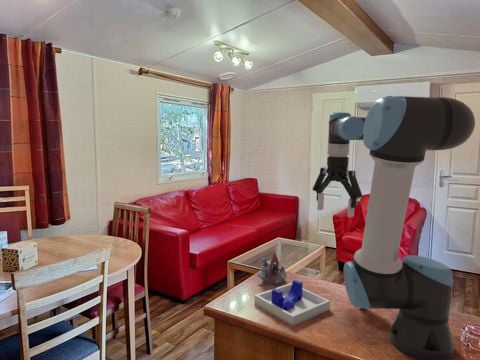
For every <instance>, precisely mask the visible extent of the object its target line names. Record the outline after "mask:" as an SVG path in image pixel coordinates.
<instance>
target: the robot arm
mask: <svg viewBox="0 0 480 360" xmlns="http://www.w3.org/2000/svg"><path fill="white" fill-rule="evenodd" d="M475 126H476V118H475V114H474V113H473V111H472V109H471V108H470V107H469V106H468V105H467V104H466V103H464V102H463V101H461V100H458V99H456V98H453V97H444V96H443V97H441V96H439V97H429V96H428V97H426V96H405V95H397V96H396V95H395V96H383V97H380V98H378V99H377V100H376V101H374V102H373V103H372V105H371V106H370V108H369V110H368V111H367V113H366V116H365V117H363V116H360V117H359V116H354V115H353V116H352V115H351V113H349V112H340V111H339V112H331V114H329V120H328V136H327V137H328V139H327V141H328V143H327V153H326V154H327V155H328V156H327V158H326V166H327V167H320V170H319V174H318V176H317V178H316V180H315V183H314V185H313V186H312V191H314V192H315V193H316V202H317V209H316V210H317V211H323V210H324V206H325V205H324V203H325V202H324V201H325V193H324V191H325V189H326V188H327V187H328V186H329V185H330V183H332V182H336V183H337V182H338V183H339V182H340V184H342V185H343V187H344V189H345V191H346V192H347V194H348V196H349V198H348V202H347V217H348V218H352V217H355V209H356V208H357V203H358V202H357V201H358V199H360V198H362V197H363V194H362V191H361V188H360V185H359V182H358V180H357V177H356V170H349V169H348V168H349V161H350V160H349V157H348V156H349V155H350V144H351V143H350V141H363V142H362V143H363V144H364V146H365V148H366V149H368V150H369V156H370V157H371V158H372V159H373V161H374V167H373V173H372V179H371V185H370V192H369V199H368V205H367V210H366V211H367V212H366V219H365V225H364V231H363V238H362V244H361V248H359V249H358V250H356V251H355V252H354V254H353V261H351V260H350V261H347V262H345V263H344V265H343V279H344V286H345V292H346V294H347V297H348V300H349V302H350V304H352V306H353V307H355V308H359V309H362V308H364V309H367V310H371V309H379V310H380V309H381V310H383V309H386V310H387V309H388V310H389V309H391V310H394V309H396V310H398V313H397V315H396V317H395V319H394V321H393V323H392V325H391V328H390V333H389V334H390V335H389V339H390V341H391V344H393V345H394V347H396V348H397V349H398V350H400V351H401V352H402V353H404V354H406V355H408V356H411V357H413V358H415V359H418V360H419V359H420V360H450V359H451V358H452V357H453V356H454V350H455V344H454V339H453V335H452V331H451V329H450V325H449V317H450V309H451V308H450V307H451V298H452V288H453V286H454V283H453V271H452V270H451V268H450V267H449V266H447V265H446V264H444V263H443V262H440V261H438V260H435V259H432V258H429V257H426V256H422V255H414V254H407V255H404V256H403V258H402V259H400V258H399V252H400V251H399V250H400V246H401V241H402V236H403V230H404V225H405V220H406V214H407V211H408V210H407V209H408V205H409V199H410V194H411V189H412V185H413V180H414V174H415V169H416V167H417V166H419V165H421V164H422V163H423V162H424V161H425V156H426V152H427V151H445V150H451V149H455V148H457V147H459V146H461V145H463V144H464V143H465V142H467V141H468V140H469V139H470V137H471V136H472V134H473V132H474V131H475Z"/></svg>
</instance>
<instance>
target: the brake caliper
mask: <svg viewBox="0 0 480 360" xmlns="http://www.w3.org/2000/svg"><path fill="white" fill-rule="evenodd" d="M270 260H271V261H268V260H267V258H266V257H261V259H260V265H261V266H260V273H258V274H257V277H259V278H260V279H261V280H262V281H263V282H264V283H265V284H267V285H270V284H271V285H277V286H278V285H282V284H283V282H284V281H285V279H286V278H287V274H286V273H287V272H286V269H285V267H284V265H282V266H280V268H279V259H278V256H277V255H276V253H275V252H273V254H272V257H271V259H270Z"/></svg>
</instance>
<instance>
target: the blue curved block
mask: <svg viewBox="0 0 480 360" xmlns="http://www.w3.org/2000/svg"><path fill="white" fill-rule="evenodd" d="M291 283H292V287H291V290H290V292H289V293H288V294H287V295H286V296H285V297H284V298H283V295H282V291H280V290H278V289H275V288H273V289H271V290H272V301H271V303H273V304H274V305H276V306H278V307H280V308H282V309H283V310H285V311H287V310H289V309H291V308H293V307H294V304H295V303H296V302H298V301H300V300H302V288H303V285H304V284H303V281H300V280H298V279H293V280H292V282H291Z"/></svg>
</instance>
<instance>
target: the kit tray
mask: <svg viewBox="0 0 480 360" xmlns="http://www.w3.org/2000/svg"><path fill="white" fill-rule="evenodd" d="M291 287H292V282H291V283H287V284H283V285H281V286H278V287H276V288H275V287H274V289H278V290H280V291H282V295H283V298H284V297H285V296H286V295H287V294H288V293H289V292H290V290H291ZM271 301H272V289H269V290H266V291H263V292H260V293H257V294H255V295H254V304H255V305H256V306H257V307H259V308H261V309H262V310H264V311H266V312H268V313H269V314H271V315H272V316H275V317H276V318H277V319H279V320H282V321H283V322H285V323H286V324H288V325H289V326H291V327H294V326H297V325H299V324H301V323H304V322H306V321H308V320H311V319H312V318H315V317H317V316H320V315H321V314H322V315H323V313H326V312H328V311H330V308H331V300H329V299H327V298H325V297H323V296H321V295H318V294H316V293H314V292H312V291H310V290H307V289H306V288H303V287H302V300H300V301H298V302H296V303H295V304H294V307H293V308H291V309H289V310H287V311H285V310H283V309H282V308H280V307H278V306H276V305H274V304H273V303H271Z"/></svg>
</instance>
